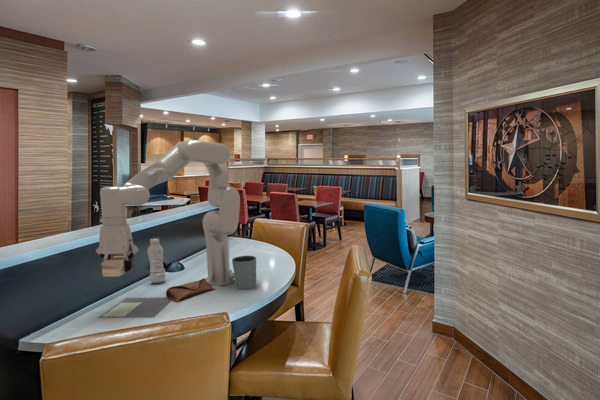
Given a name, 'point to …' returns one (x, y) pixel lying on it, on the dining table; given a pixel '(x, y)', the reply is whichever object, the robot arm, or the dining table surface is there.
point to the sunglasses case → (188, 290)
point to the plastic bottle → (156, 261)
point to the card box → (115, 266)
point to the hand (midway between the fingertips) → (119, 270)
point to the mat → (137, 308)
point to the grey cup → (244, 272)
